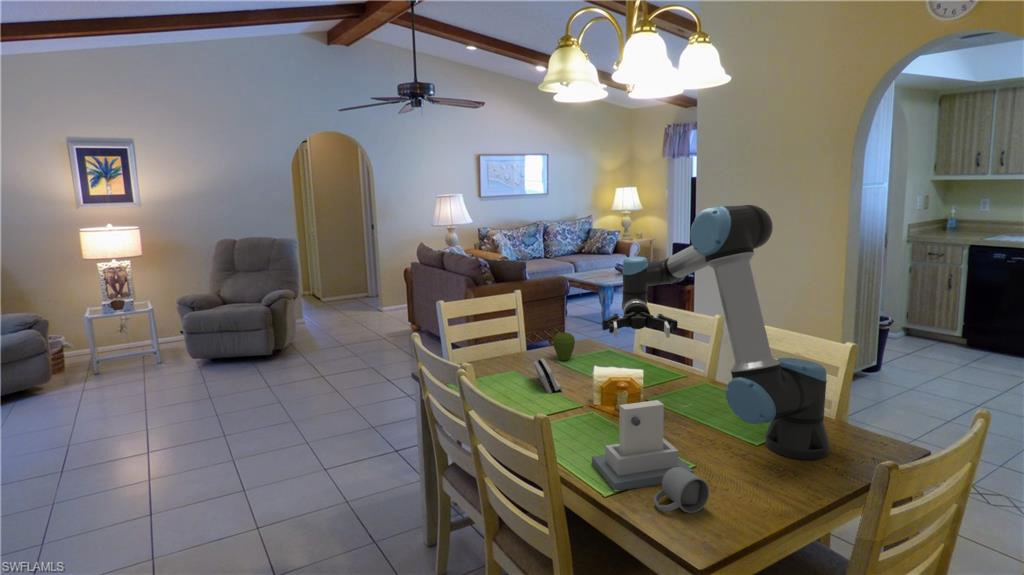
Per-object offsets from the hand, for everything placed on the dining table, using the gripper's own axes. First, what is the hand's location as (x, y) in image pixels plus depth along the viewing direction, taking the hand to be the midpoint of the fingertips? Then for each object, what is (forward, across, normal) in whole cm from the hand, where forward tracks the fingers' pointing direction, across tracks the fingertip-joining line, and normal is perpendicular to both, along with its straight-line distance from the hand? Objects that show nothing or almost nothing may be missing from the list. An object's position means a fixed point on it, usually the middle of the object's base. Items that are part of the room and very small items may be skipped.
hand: (641, 332), depth 158 cm
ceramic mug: (+33, -6, -30) cm, 45 cm away
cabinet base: (+18, +1, -30) cm, 35 cm away
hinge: (-42, +29, -30) cm, 59 cm away
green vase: (-71, +25, -30) cm, 81 cm away
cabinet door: (+18, +1, -28) cm, 33 cm away
